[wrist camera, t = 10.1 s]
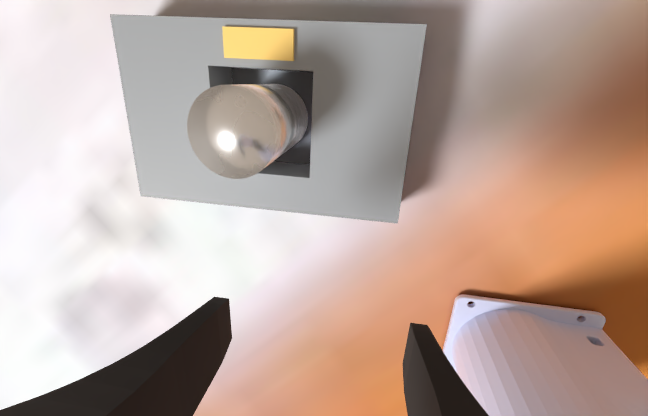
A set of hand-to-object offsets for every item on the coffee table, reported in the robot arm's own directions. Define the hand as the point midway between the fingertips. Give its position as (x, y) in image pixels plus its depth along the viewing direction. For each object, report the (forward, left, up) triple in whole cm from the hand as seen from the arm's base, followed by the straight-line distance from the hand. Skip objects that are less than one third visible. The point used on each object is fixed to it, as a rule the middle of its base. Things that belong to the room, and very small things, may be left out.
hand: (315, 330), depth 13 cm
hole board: (+5, -7, -10) cm, 13 cm away
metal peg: (+5, -7, -10) cm, 13 cm away
